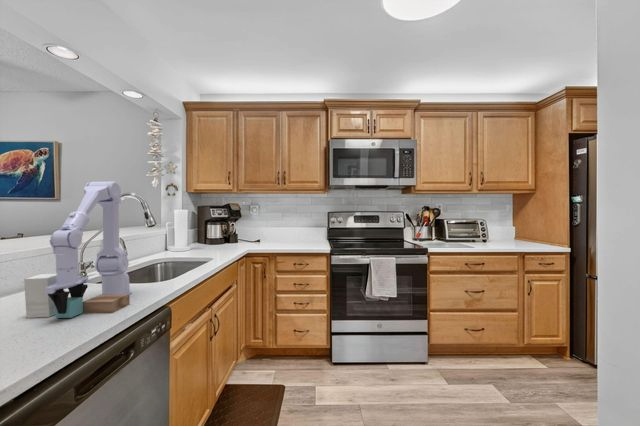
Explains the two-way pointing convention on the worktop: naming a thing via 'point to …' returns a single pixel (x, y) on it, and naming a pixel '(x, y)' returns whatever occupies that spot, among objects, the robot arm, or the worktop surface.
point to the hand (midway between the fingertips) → (69, 310)
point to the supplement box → (39, 296)
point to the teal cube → (72, 307)
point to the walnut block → (105, 303)
